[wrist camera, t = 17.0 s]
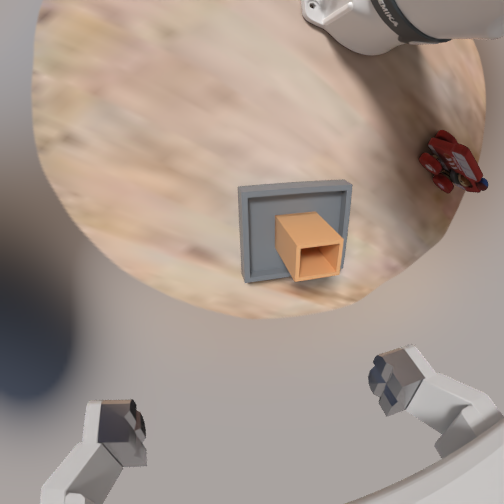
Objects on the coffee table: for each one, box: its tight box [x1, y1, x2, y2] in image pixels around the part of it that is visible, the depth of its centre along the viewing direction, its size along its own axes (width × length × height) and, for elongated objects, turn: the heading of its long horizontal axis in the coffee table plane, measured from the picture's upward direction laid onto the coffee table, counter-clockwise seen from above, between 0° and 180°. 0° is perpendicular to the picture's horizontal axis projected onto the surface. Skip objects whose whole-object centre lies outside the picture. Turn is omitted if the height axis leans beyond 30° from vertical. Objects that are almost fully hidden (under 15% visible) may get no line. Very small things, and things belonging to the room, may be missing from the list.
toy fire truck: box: [419, 130, 488, 193], centre depth 41 cm, size 7×12×10 cm, turn 52°
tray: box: [238, 180, 352, 283], centre depth 45 cm, size 16×14×2 cm
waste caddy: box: [275, 211, 344, 282], centre depth 41 cm, size 6×5×9 cm
